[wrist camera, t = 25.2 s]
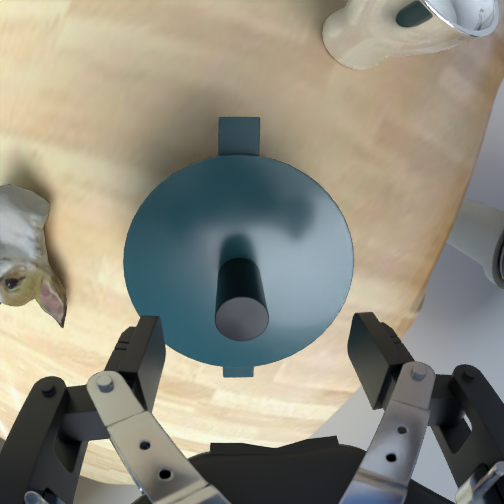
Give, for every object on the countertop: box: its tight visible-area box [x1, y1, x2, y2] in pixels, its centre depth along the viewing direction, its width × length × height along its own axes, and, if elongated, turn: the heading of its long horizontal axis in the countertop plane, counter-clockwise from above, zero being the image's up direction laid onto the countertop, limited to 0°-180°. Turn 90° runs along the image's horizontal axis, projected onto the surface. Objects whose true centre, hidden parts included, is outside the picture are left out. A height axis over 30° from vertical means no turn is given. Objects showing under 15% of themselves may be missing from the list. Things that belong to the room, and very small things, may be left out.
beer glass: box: [322, 0, 499, 70], centre depth 15 cm, size 7×7×15 cm
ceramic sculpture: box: [0, 184, 67, 328], centre depth 23 cm, size 11×9×15 cm
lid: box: [123, 154, 354, 368], centre depth 18 cm, size 15×15×6 cm
